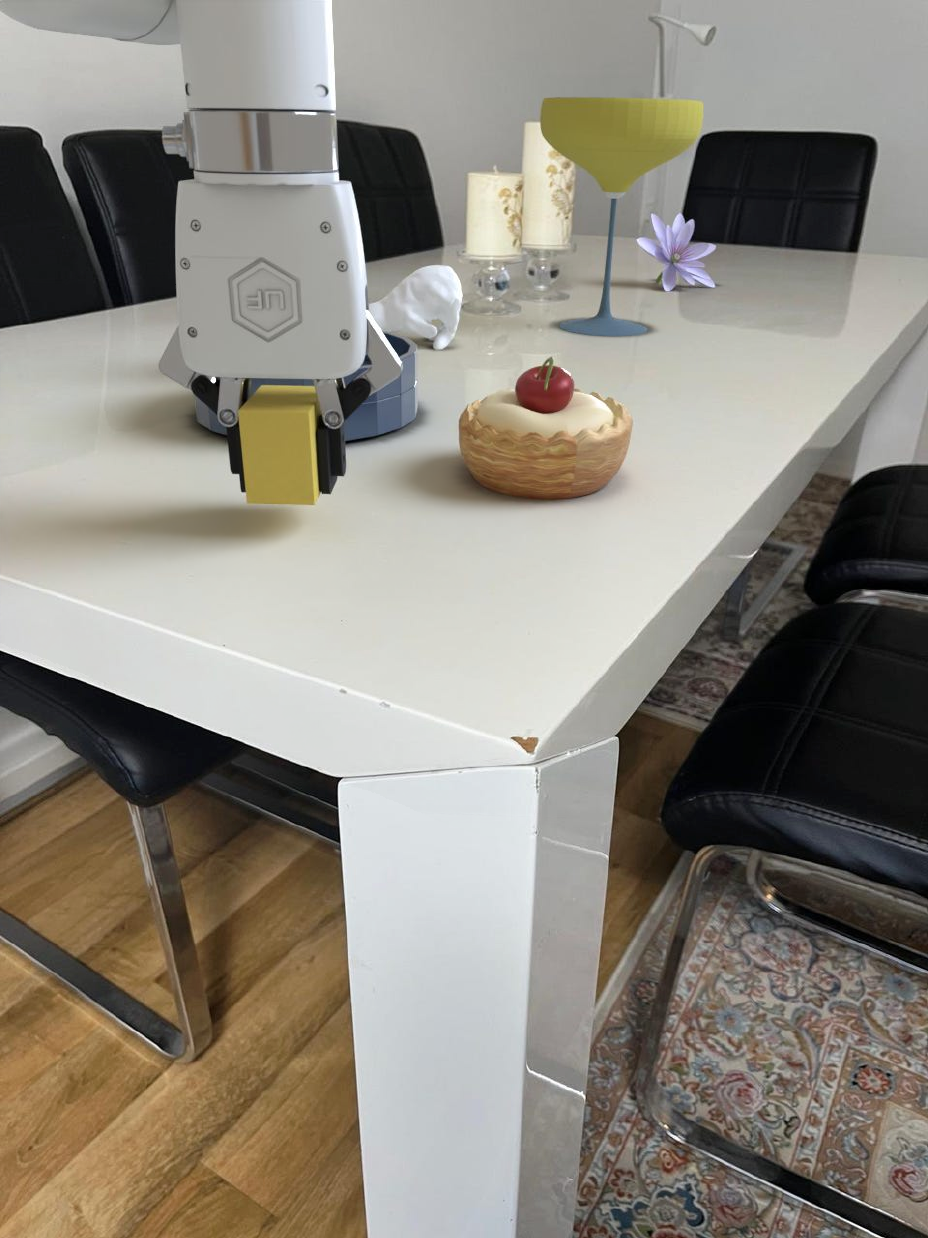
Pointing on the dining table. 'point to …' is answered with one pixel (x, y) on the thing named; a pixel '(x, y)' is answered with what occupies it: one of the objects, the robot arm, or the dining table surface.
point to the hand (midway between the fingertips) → (290, 482)
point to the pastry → (544, 437)
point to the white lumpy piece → (422, 305)
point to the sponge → (280, 445)
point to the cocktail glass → (617, 160)
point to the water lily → (677, 252)
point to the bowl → (375, 413)
